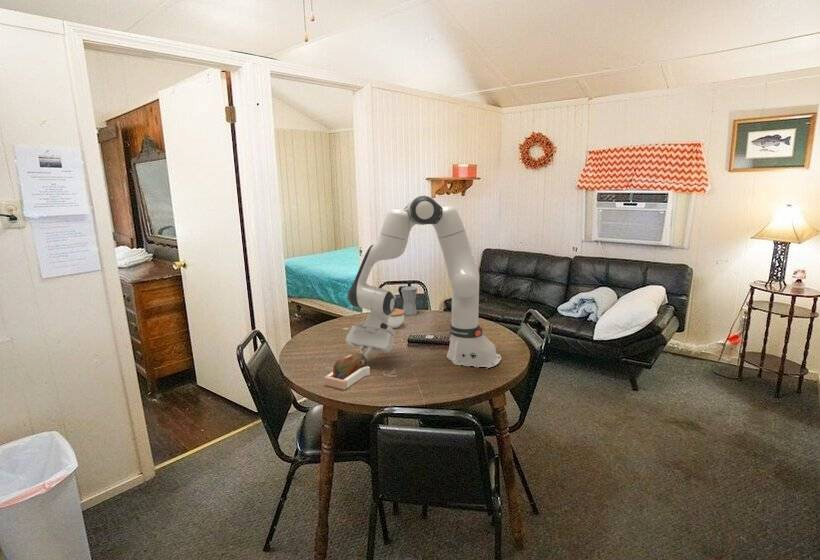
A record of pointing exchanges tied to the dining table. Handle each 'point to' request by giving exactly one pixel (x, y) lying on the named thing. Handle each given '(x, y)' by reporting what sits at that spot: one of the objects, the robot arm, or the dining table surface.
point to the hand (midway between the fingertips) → (362, 357)
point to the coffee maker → (408, 299)
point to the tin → (348, 365)
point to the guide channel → (346, 379)
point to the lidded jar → (396, 318)
